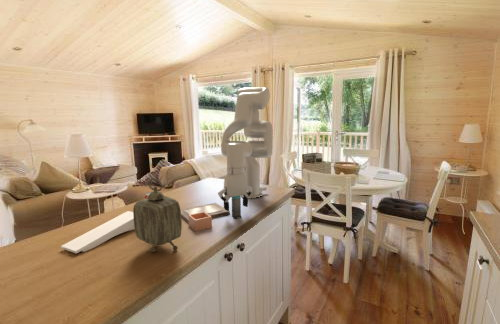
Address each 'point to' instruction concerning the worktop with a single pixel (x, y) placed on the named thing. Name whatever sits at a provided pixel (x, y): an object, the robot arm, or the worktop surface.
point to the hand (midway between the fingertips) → (236, 208)
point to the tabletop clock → (157, 219)
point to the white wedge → (101, 233)
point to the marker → (236, 207)
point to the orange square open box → (200, 221)
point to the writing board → (210, 209)
